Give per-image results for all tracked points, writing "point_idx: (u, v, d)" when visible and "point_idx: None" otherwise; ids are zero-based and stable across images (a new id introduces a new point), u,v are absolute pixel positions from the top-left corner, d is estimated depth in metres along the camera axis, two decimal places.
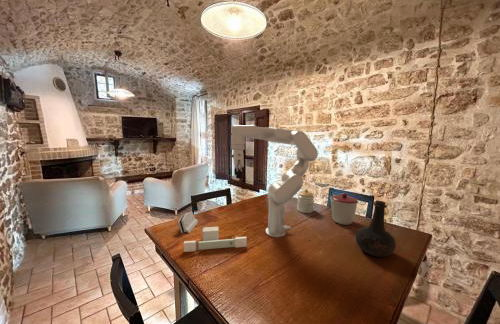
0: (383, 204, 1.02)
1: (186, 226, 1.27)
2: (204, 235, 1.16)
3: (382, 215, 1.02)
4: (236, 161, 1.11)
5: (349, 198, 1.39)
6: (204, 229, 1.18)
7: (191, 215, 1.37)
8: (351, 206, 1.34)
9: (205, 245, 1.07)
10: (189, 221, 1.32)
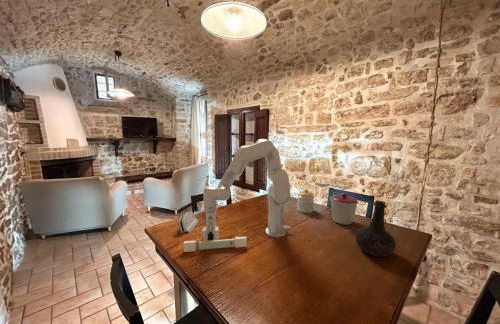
0: (383, 204, 1.02)
1: (186, 226, 1.27)
2: (204, 235, 1.16)
3: (382, 215, 1.02)
4: (207, 224, 1.13)
5: (349, 198, 1.39)
6: (204, 229, 1.18)
7: (191, 215, 1.37)
8: (351, 206, 1.34)
9: (205, 245, 1.07)
10: (189, 221, 1.32)
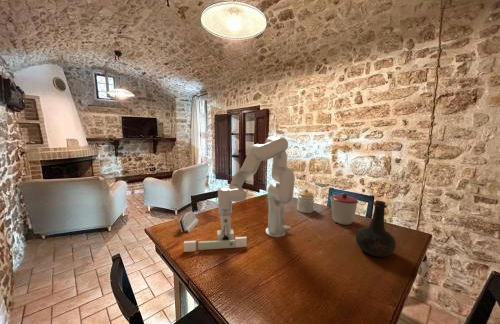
0: (383, 204, 1.02)
1: (186, 225, 1.28)
2: (219, 238, 1.11)
3: (382, 215, 1.02)
4: (223, 227, 1.08)
5: (349, 198, 1.39)
6: (218, 232, 1.13)
7: (192, 214, 1.38)
8: (351, 206, 1.34)
9: (205, 245, 1.07)
10: (189, 220, 1.33)
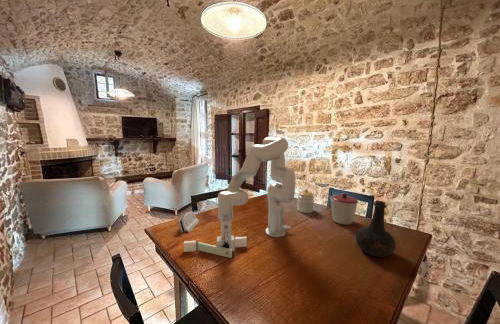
0: (383, 204, 1.02)
1: (186, 225, 1.28)
2: (219, 245, 1.04)
3: (382, 215, 1.02)
4: (223, 233, 1.01)
5: (349, 198, 1.39)
6: (218, 238, 1.06)
7: (192, 214, 1.38)
8: (351, 206, 1.34)
9: (204, 247, 1.05)
10: (190, 220, 1.33)
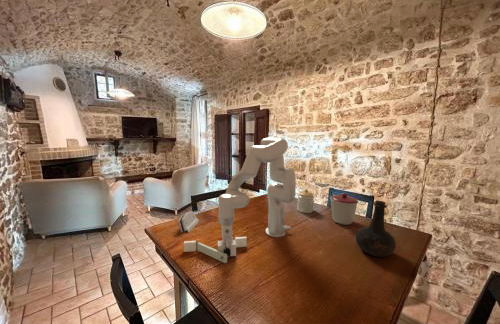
0: (383, 204, 1.02)
1: (186, 225, 1.28)
2: (219, 250, 1.00)
3: (382, 215, 1.02)
4: (224, 238, 0.97)
5: (349, 198, 1.39)
6: (219, 243, 1.02)
7: (192, 214, 1.38)
8: (351, 206, 1.34)
9: (202, 248, 1.04)
10: (190, 220, 1.33)
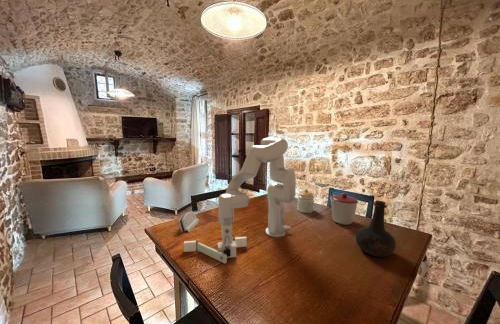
0: (383, 204, 1.02)
1: (186, 225, 1.28)
2: None
3: (382, 215, 1.02)
4: (223, 238, 0.97)
5: (349, 198, 1.39)
6: (219, 244, 1.02)
7: (192, 214, 1.38)
8: (351, 206, 1.34)
9: (202, 248, 1.04)
10: (190, 220, 1.33)
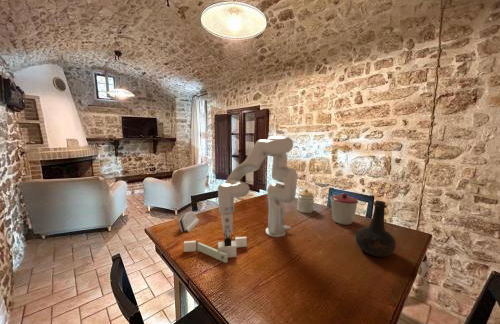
0: (383, 204, 1.02)
1: (186, 225, 1.28)
2: None
3: (382, 215, 1.02)
4: (224, 227, 0.96)
5: (349, 198, 1.39)
6: (219, 244, 1.02)
7: (192, 214, 1.38)
8: (351, 206, 1.34)
9: (202, 248, 1.04)
10: (190, 220, 1.33)
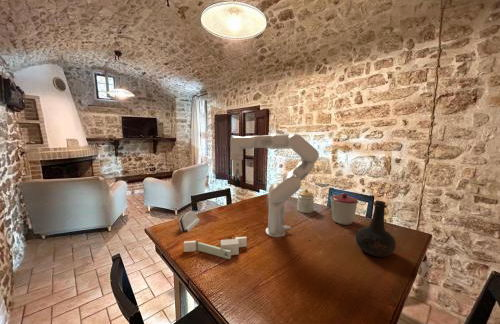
0: (383, 204, 1.02)
1: (186, 225, 1.29)
2: None
3: (382, 215, 1.02)
4: (235, 170, 1.18)
5: (349, 198, 1.39)
6: (222, 242, 1.04)
7: (193, 214, 1.39)
8: (351, 206, 1.34)
9: (203, 248, 1.05)
10: (190, 220, 1.34)
